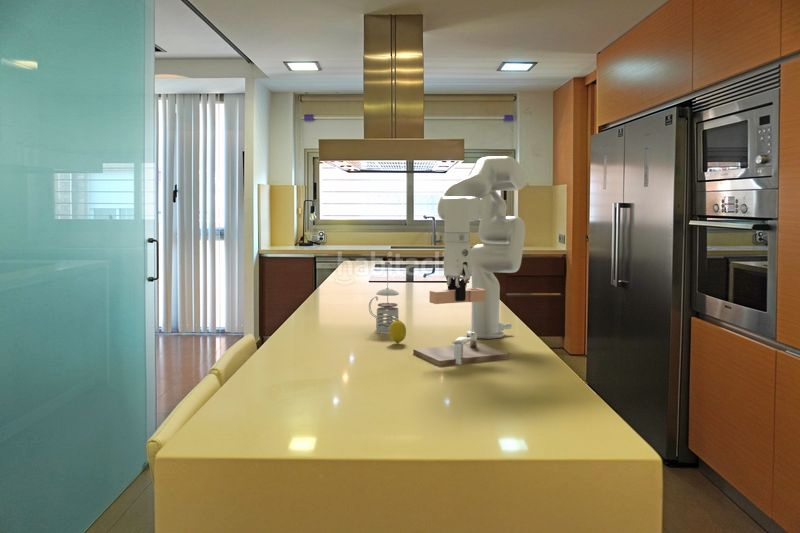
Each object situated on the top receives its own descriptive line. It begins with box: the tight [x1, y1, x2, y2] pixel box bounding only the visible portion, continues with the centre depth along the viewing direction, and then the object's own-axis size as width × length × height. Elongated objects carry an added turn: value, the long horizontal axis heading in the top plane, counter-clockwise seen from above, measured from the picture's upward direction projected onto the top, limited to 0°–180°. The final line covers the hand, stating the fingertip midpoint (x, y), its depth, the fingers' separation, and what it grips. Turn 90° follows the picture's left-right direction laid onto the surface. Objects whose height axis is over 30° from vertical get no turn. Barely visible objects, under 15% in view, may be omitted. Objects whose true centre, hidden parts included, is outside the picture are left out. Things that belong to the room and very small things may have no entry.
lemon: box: [388, 318, 407, 345], centre depth 222 cm, size 6×6×8 cm
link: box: [429, 287, 486, 305], centre depth 206 cm, size 17×5×4 cm, turn 114°
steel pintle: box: [469, 332, 478, 348], centre depth 210 cm, size 2×2×4 cm
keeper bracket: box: [451, 336, 471, 366], centre depth 197 cm, size 8×4×6 cm, turn 159°
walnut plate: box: [412, 342, 510, 367], centre depth 204 cm, size 23×17×2 cm
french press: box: [368, 261, 400, 335], centre depth 243 cm, size 10×12×25 cm
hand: (456, 299), depth 206 cm, fingers closed on link, 4 cm apart
